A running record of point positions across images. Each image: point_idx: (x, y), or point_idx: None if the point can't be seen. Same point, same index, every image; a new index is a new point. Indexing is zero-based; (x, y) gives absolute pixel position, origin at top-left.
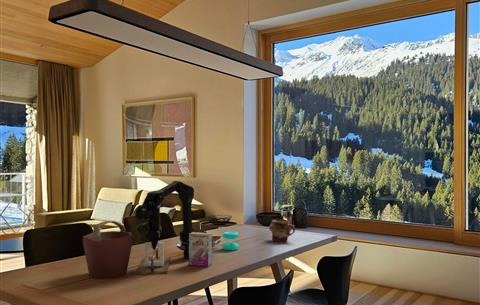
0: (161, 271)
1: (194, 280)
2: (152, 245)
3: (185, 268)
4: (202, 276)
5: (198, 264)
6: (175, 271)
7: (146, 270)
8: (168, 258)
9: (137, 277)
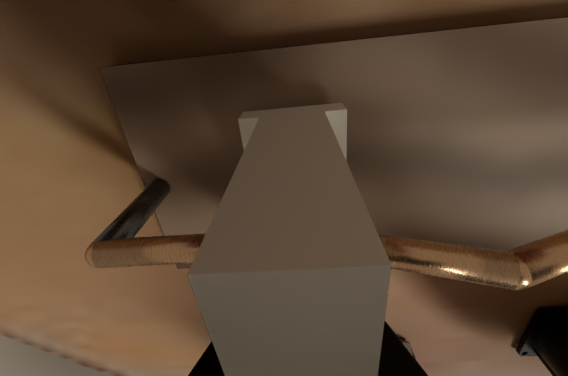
0: None
1: (99, 354)
2: (203, 361)
3: None
4: (167, 371)
5: None
6: None
7: (160, 143)
8: None
9: (29, 91)
